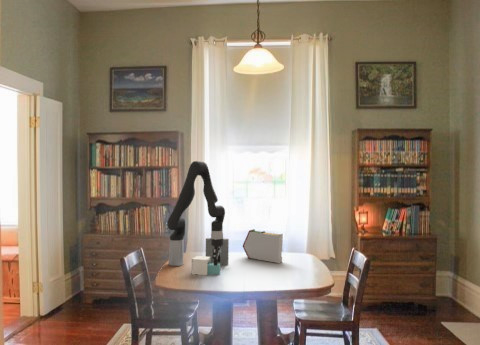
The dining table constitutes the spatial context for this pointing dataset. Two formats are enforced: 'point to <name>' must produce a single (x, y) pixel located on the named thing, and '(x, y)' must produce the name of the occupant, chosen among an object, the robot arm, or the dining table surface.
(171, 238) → the robot arm
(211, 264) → the teal rectangular block
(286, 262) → the dining table surface
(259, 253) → the model house
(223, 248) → the hip flask
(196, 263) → the cream rectangular block
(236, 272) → the dining table surface
